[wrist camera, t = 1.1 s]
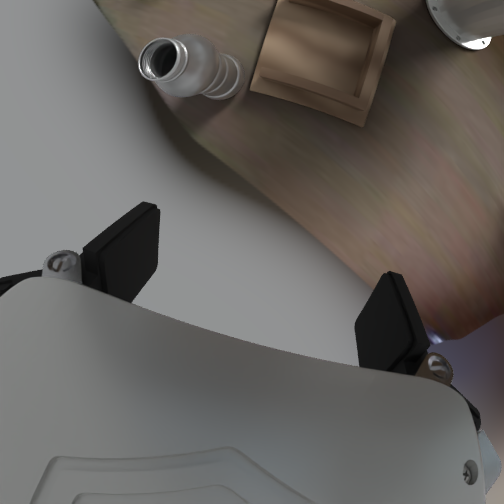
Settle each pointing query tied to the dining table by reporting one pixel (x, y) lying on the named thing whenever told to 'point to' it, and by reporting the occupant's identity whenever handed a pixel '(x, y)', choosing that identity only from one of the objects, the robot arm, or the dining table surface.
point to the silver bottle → (191, 67)
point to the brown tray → (325, 56)
